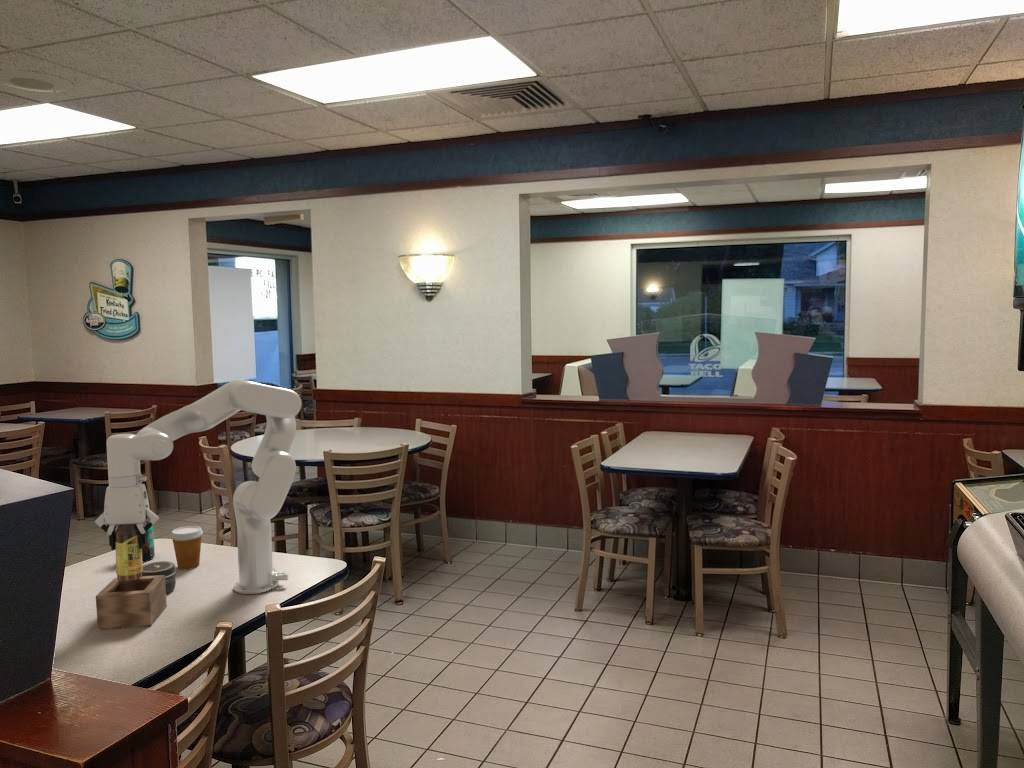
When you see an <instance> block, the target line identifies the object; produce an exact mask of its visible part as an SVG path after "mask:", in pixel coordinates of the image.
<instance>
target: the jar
mask: <svg viewBox="0 0 1024 768" xmlns="http://www.w3.org/2000/svg"><path fill="white" fill-rule="evenodd" d="M156 575H165V584H166V595H168V593H169V594H170V592H171V593H172V592H173V591H174V590H175V588H176V583H177V582H176V580H177V579H176V565H175V563H174V562H173V561H172V562H171V561H168V560H165V561H164V560H161V561H153V562H149V563H145V564H143V571H142V576H156Z"/></svg>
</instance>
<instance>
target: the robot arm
mask: <svg viewBox="0 0 1024 768" xmlns="http://www.w3.org/2000/svg"><path fill="white" fill-rule="evenodd" d="M301 408H302V399H301V397H300V395H299V393H297V392H296V391H294V390H292V389H288V388H285V387H284V388H283V387H279V386H272V385H268V384H264V383H263V384H262V383H260V382H255V381H252V380H246V379H242V378H241V379H240V378H239V379H238V378H237V379H233V380H231V381H229V382H227V383H225V384H223V385H222V386H220V387H218V388H217V389H215V390H213V391H211V392H210V393H208V394H207V395H205V396H203V397H201V398H200V399H198V400H196V401H193V402H192V403H190V404H187V405H185V406H183V407H182V408H179V409H177V410H174V411H172V412H170V413H168V414H166V415H163V416H161V417H160V418H158V419H157V420H155V421H153V422H151V423H149V424H147V425H146V426H144V427H143V428H142V429H139V431H138V432H137V433H136V434H133V433H119V434H113V435H111V436H109V437H108V438H107V439H106V457H107V458H106V459H107V461H106V462H107V475H108V476H107V477H108V486H107V487H106V490H105V496H104V503H103V505H104V506H103V507H104V508H103V512H102V513H101V514H100V515H99V516H98V517H97V518H96V519H95V521H94V524H96V525H97V526H98V527H99V528H100V529H101V530H103V531H104V532H105V533H106V535H107V536H108V541H109V542H108V543H109V546H110V548H111V551H116V548H115V541H116V536H115V533H116V530H117V528H118V526H119V525H125V524H136V525H137V527H138V529H139V531H140V534H139V535H138V538H139V548H140V549H142V548H143V547H145V546H146V544H147V531H148V530H149V529H150V528H151V526H152V527H153V526H154V525H155V523H156V522H158V520H160V517H159V515H157V514H156V513H155V512H153V511H152V510H151V509H150V502H149V496H148V492H147V488H146V485H145V483H143V482H146V481H147V480H148V479H147V475H145V476H144V475H142V473H141V461H161V460H163V459H166V458H168V457H169V456H170V455H171V454H172V452H173V450H174V441H176V440H178V439H179V438H181V437H184V436H186V435H189V434H193V433H200V432H205V431H208V430H211V429H213V428H215V427H216V426H218V425H219V424H221V423H222V422H224V421H225V420H227V419H229V418H231V417H232V416H234V415H235V414H237V413H238V412H240V411H244V412H248V413H252V414H258V415H263V416H265V418H266V427H265V431H264V433H263V437H262V438H261V441H260V443H259V445H258V447H257V449H256V451H255V454H254V456H253V457H252V458H253V459H252V461H251V470H252V472H253V473H254V475H256V476H257V477H259V478H258V481H257V480H256V481H255V480H248V481H244V482H242V483H241V484H239V485H238V486H237V487H236V489H235V491H234V493H233V497H232V498H233V499H232V504H233V511H234V517H235V522H236V539H237V541H236V542H237V561H238V563H237V565H238V581H236V582H235V583H234V585H233V591H234V592H236V593H239V594H242V595H256V594H257V595H258V594H262V592H263V593H267V592H269V590H270V591H272V590H274V589H276V588H277V587H278V586H279V585H280V584H279V583H280V581H288V580H289V573H286V571H280V572H278V571H276V567H274V566H273V543H272V522H271V519H273V518H275V517H276V516H277V515H278V514H279V512H280V511H281V509H282V507H283V505H284V503H285V501H286V498H287V495H288V494H289V491H290V489H291V486H292V485H293V482H294V479H295V476H296V471H297V464H296V460H295V458H294V457H293V456H292V455H291V454H290V449H291V446H292V445H293V442H294V439H295V436H296V432H297V422H296V416H297V415H299V413H300V411H301ZM148 519H150V521H148V522H149V523H148V524H146V522H145V521H146V520H148ZM271 589H272V590H271ZM266 591H267V592H266Z"/></svg>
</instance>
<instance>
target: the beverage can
mask: <svg viewBox="0 0 1024 768" xmlns="http://www.w3.org/2000/svg"><path fill="white" fill-rule="evenodd" d="M145 522H146V524H148V523H149V522H150V521H148V520H147V521H146V520H145ZM154 537H155V536H154V526H153V525H152V526H151V528H150V529H149V530H148V531H147V544H146V546H145V547H143V548H142V561H144V562H147V561H146V560H148V561H150V560H149V559H151V558H152V559H153V558H155V555H156V554H155V538H154ZM152 559H151V560H152Z"/></svg>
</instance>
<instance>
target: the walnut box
mask: <svg viewBox="0 0 1024 768" xmlns="http://www.w3.org/2000/svg"><path fill="white" fill-rule="evenodd" d="M167 603H168V602H167V594H166V584H165V575H156V576H142V577H141V578H139V579H137V580H134V581H128V582H121V581H118V579H117V577H114V578H112V580H111V581H110V582H109V583H108V584H107V585H106V586H105V587H104V588H102V590H100V591H99V592H98V593H97V594H96V595H95V607H96V620H97V630H98V629H101V630H112V629H111V628H116V629H123V628H122V627H131V628H141V627H140V626H146V627H152V626H153V625H154V623H156V621H157V620H158V618H159V617H160V616H161V614H163V612H164V611H165V610H166V608H167V606H168V605H167ZM156 619H157V620H156ZM152 624H153V625H152Z"/></svg>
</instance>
